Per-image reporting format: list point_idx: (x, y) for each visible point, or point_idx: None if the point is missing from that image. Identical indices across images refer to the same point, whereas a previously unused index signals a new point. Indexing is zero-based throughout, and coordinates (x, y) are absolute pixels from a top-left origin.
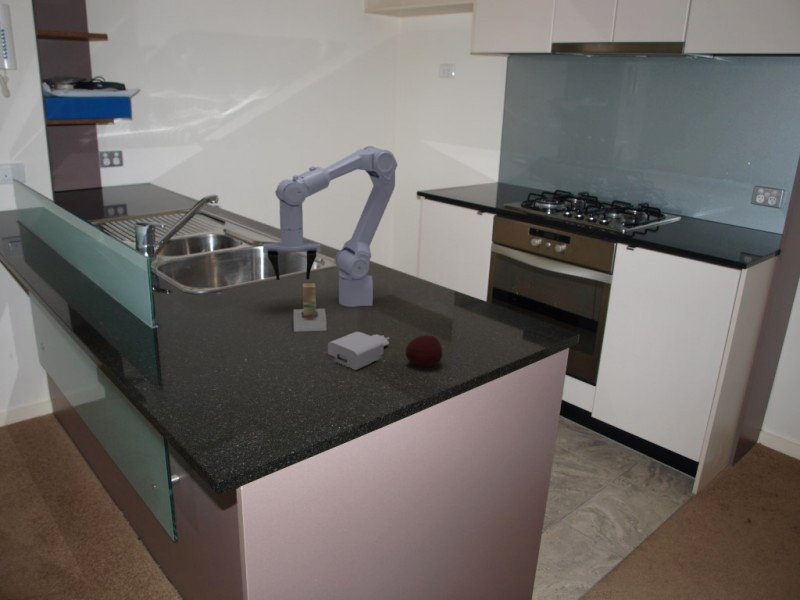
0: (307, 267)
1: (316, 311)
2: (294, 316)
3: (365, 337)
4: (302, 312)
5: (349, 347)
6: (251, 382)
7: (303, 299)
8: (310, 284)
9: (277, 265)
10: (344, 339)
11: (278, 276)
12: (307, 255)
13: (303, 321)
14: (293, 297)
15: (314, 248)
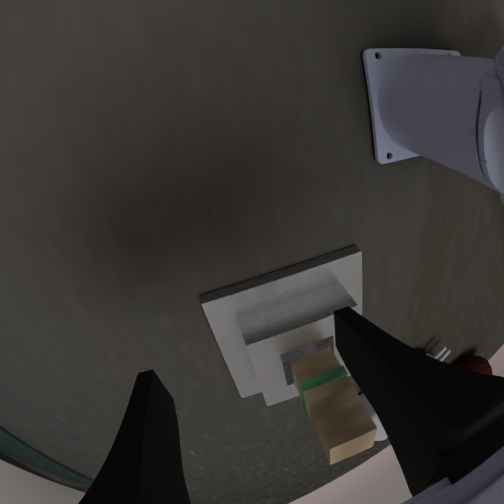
0: (379, 414)
1: (330, 335)
2: (263, 386)
3: None
4: (282, 352)
5: (380, 437)
6: (231, 476)
7: (314, 427)
8: (358, 441)
9: (185, 495)
10: (379, 426)
11: (173, 421)
12: (416, 494)
13: (294, 394)
14: (145, 13)
15: (498, 467)
